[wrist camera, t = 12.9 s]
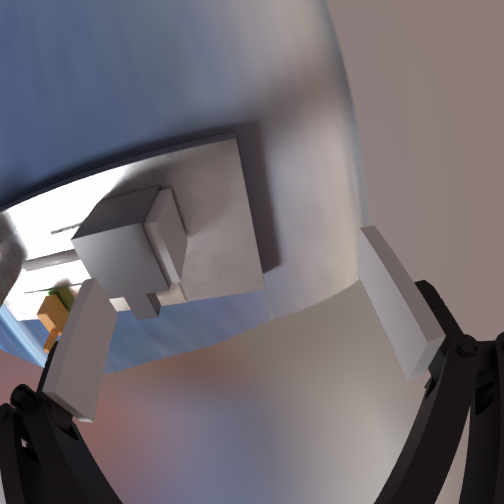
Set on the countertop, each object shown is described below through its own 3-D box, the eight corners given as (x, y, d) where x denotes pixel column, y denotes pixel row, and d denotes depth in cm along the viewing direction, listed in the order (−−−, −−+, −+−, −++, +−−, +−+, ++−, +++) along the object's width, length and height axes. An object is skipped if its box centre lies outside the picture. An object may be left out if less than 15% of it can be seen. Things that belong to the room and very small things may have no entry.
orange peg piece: (60, 316, 26) (44, 354, 22) (45, 295, 24) (26, 333, 20) (70, 315, 26) (55, 354, 22) (55, 294, 24) (36, 333, 20)
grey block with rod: (76, 308, 26) (61, 347, 22) (26, 225, 20) (-3, 260, 16) (206, 290, 25) (203, 337, 21) (169, 182, 19) (153, 219, 15)
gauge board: (23, 309, 29) (-1, 358, 22) (-30, 222, 21) (-71, 268, 15) (263, 274, 27) (273, 345, 21) (235, 131, 20) (237, 171, 13)
